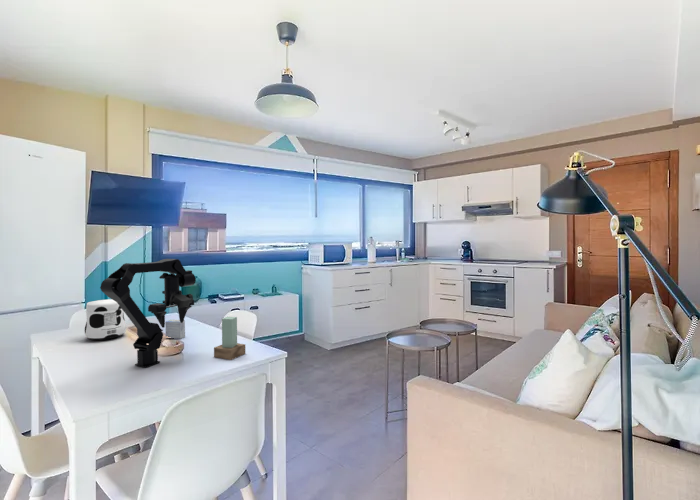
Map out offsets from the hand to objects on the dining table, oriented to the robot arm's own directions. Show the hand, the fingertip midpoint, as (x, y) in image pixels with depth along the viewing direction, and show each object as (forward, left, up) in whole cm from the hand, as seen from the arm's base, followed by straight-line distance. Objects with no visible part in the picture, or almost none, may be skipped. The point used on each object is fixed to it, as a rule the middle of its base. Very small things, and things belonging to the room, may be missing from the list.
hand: (172, 325), depth 157 cm
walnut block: (+10, -22, -13) cm, 27 cm away
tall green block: (+10, -22, -9) cm, 26 cm away
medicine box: (+20, +22, -13) cm, 33 cm away
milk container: (+6, +54, -13) cm, 56 cm away
